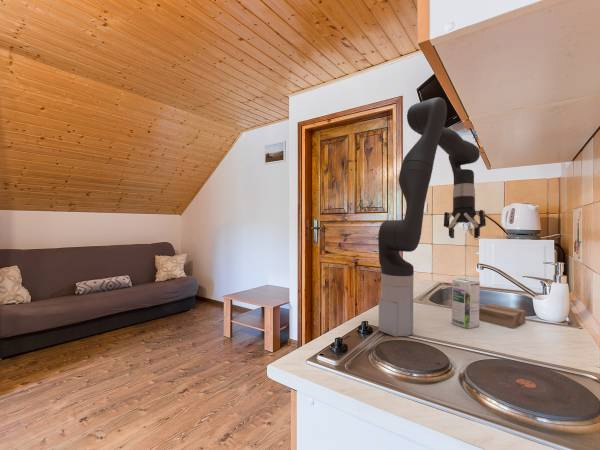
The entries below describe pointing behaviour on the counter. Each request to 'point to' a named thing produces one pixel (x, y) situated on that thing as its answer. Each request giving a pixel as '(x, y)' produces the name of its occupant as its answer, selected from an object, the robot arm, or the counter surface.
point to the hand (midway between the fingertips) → (463, 238)
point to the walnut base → (502, 315)
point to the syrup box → (465, 302)
